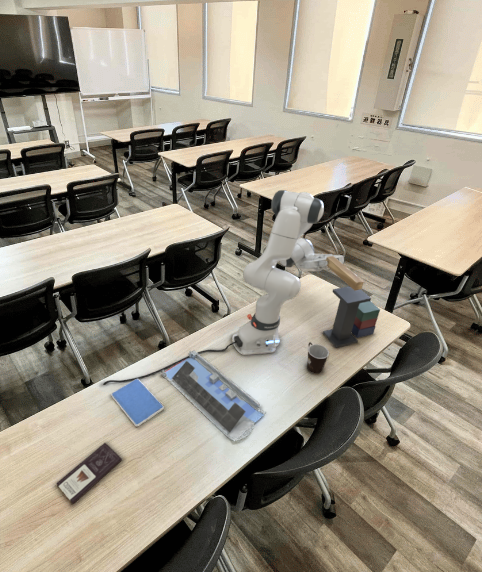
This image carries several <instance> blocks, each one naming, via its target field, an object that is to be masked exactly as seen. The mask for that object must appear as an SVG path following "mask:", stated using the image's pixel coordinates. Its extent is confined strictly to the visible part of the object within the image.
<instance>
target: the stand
mask: <svg viewBox="0 0 482 572" xmlns="http://www.w3.org/2000/svg"><path fill="white" fill-rule="evenodd" d="M332 293H333V294H334V295H335V296H336V298H338V299H339V302H338V305H337V309H336V313H335V318H334V321H333V325H332V328H331V329H326V330H323V331H322V334H323V336H324V337H325V338H326V339H327V340H328V341H329V342H330V344H331V345H332V346H333V347H334V348H335V349H339V348H342V347H347V346H351V345H355V344H358V343H359V340H358V338H356V337H355V336H354V335H353V334H352V333H351V332H352V328H353V325H354V321H355V318H356V314H357V311H358V307H359V304H360V303H364V302H368V301H371V300H372V298H371V297H370V296H369V295H368V294H367V293H366V292H365V291H363V289H360V290H353V289H352V288H351V287H350V286H349V285H348V286H344V287H338V288H337V287H336V288H332Z"/></svg>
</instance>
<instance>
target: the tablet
mask: <svg viewBox="0 0 482 572" xmlns="http://www.w3.org/2000/svg"><path fill="white" fill-rule="evenodd" d="M110 397H111V398H112V399H113V400H114V401H115V403H116V404H117V405H118V407H119V408H120V409H121V410H122V411H123V413H124V414H125V415H126V417H127V418H128V419H129V420H130V422H131V423H132V424H133V425H134V426H135V427H136V428H137V427H140V426H141V425H144V424H145V423H146V422H148V421H149V420H151V419H153V418H154V417H155V416H157V415H158V414H159V413H161V411H163V410H164V409H165V406H164V405H163V403H161V402H160V400H159V399H158V398H157V397H156V396H155V395H154V394H153V393H152V392H151V390H150V389H149V388H148V387H147V385H145V384H144V383H143V382H142V381H141V380H140V379H135V380H132V381H129V382H128V383H126V384H125V385H123V386H122V387H120V388H118V389H116V390H114V391H113V392H111V394H110Z"/></svg>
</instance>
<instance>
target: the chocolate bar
mask: <svg viewBox="0 0 482 572" xmlns="http://www.w3.org/2000/svg"><path fill="white" fill-rule="evenodd" d="M122 461H123V458H121V456H120V455H118V454H117V452H116V451H114V450H113V449H112V447H111V446H110V445H108V444H107V443H106V442H104V443H103V444H102V445H100V446H99V447H98V448H97V449H96V450H94V451H93V452H92V453H91V454H90V455H88V456H87V457H86V458H85V459H84V460H83V461H81V462H80V463H78V465H76V466H75V467H74V468H73V469H71V470H70V471H69V472H68V473H67V474H66V475H65V476H63V477H61V479H59V480H58V481H57V482H56V486H57V487H58V488H59V489H60V490H61V493H63V494H64V495H65V497H66V498H67V499H68V501H70V503H71V504H72V505H75V503H77V502H78V501H79V500H80V499H81V498H82V497H83V496H84V495H85V494H86V493H88V492H89V491H90V490H91V489H92V488H93V487H95V485H96V484H98V483H99V482H100V481H101V480H102V479H103V478H104V477H105V476H106V475H107V474H108V473H110V472H111V471H112V470H114V468H116V467H117V466H118V465H119V464H120V463H121V462H122Z"/></svg>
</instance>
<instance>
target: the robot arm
mask: <svg viewBox="0 0 482 572" xmlns="http://www.w3.org/2000/svg"><path fill="white" fill-rule="evenodd" d="M324 206H325V205H324V202H323V200H321V199H319V198H317V197H314V196H313V195H312V193H310V192H308V191H301V192H296V191H287V190H285V189H280V190H277V191H276V192H275V193H274V194H273V197H272V199H271V205H270V209H271V211H272V213H273V214H274V216H275V219H274V222H273V225H272V227H271V230H270V233H269V237H268V241H267V243H266V246H265V248H264V251H263V252H262V254H261V255H260V256H259V257H258V258H257V259H255V260H253V261H251V262H249V263H247V264H246V265H245V267H244V269H243V272H242V276H243V281H244V282H245V283H246V284H248V285H249V286H251V287H252V288H255V289H257V290H259V291H261V292H262V291H263V292H265V293H266V294H263V295H261V296H259V297H258V298H257V299H256V302H255V309H254V310H255V311H254V314H253V315H252V314H251V313H248V314H247V315H246V318H247V319H248V320H249V321H247V322H246V323H245V324H243V325H242V326H240V327H239V328H238V330H237V332H236V333H234V334H232V336H231V343H229V344H228V345H227V346H225V348H223V349H205V350H200V351H196V352H197V353H198V354H199V355H201V354H202V353H207V352H215V353H221V352H224V351H227V350H228V348H229V347H231V346H233V347H234V349H235V350H236V352H238V353H239V354H241V355H242V356H252V355H261V354H262V355H264V354H274V353H275V352H276V348H277V347H278V346H279V345H280V342H281V338H280V335H279V333H280V332H279V327H280V323H281V311H282V306H283V304H284V303H286V302H287V301H290V300H293V299H295V298H296V297H298V295H299V294H300V292H301V288H302V283H301V280H300V278H299V277H298V276H296V275H295V274H292V273H291V272H289V271H286V270H284V269H280V268H277V264H278V263H280V265H281V266H282V267H283V268H284V267H285V268H292V267H293V266H295V267H296V268H297V269H299V270H300V271H303V272H322V271H323V270H325V269H328V268H329V267H328V266H327V265H329V261H326V258H327V257H330V256H334V257H335V258H336V259H337V260H339V261H340V262H341V263H342V264H344V263H345V257H344V255H341V254H332V253H315V248H314V245H313V244H312V242H311V240H309V239H307V238H305V237H302V235H304V234H305V233H306V232H307V231H309V230H310V229H311V228H312V226H313V224H317V223H319V221H320V220H321V218H322V217H323V215H324V213H325V212H324V210H325V208H324ZM187 358H189V355H187V356H184V357H183V358H181V359H179V360H177V361H174V362H173V363H170V364H168V365H167V366H165V367H162V368H160V369H157V370H155V371H152V372H150V373H147V374H145V375H141V376H136V377H131V378H128V379H127V378H126V379H122V380H120V379H119V380H117V379H110V380H106V381H105V382H103V384H102V385H103V386H105V385H107V384H109V383H126V382H132V381H133V380H135V379H139V380H140V379H144V378H146V377H150V376H152V375H155V374H157V373H159V372H160V373H161V372H162V370H164V371H165V370H166V369H169V368H171V367H173V366H175V365H176V364H178V363H180V362H181V361H183V360H185V359H187Z"/></svg>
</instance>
